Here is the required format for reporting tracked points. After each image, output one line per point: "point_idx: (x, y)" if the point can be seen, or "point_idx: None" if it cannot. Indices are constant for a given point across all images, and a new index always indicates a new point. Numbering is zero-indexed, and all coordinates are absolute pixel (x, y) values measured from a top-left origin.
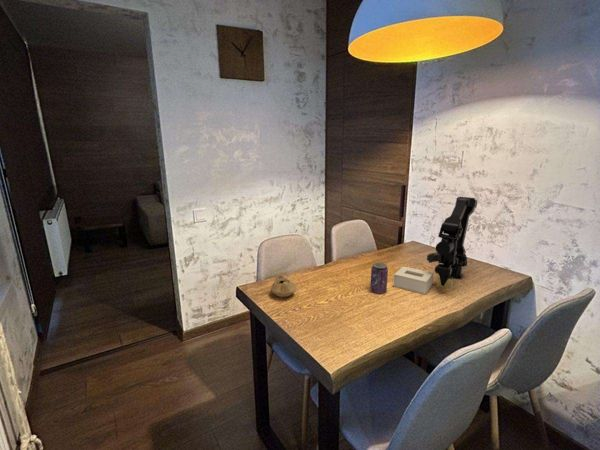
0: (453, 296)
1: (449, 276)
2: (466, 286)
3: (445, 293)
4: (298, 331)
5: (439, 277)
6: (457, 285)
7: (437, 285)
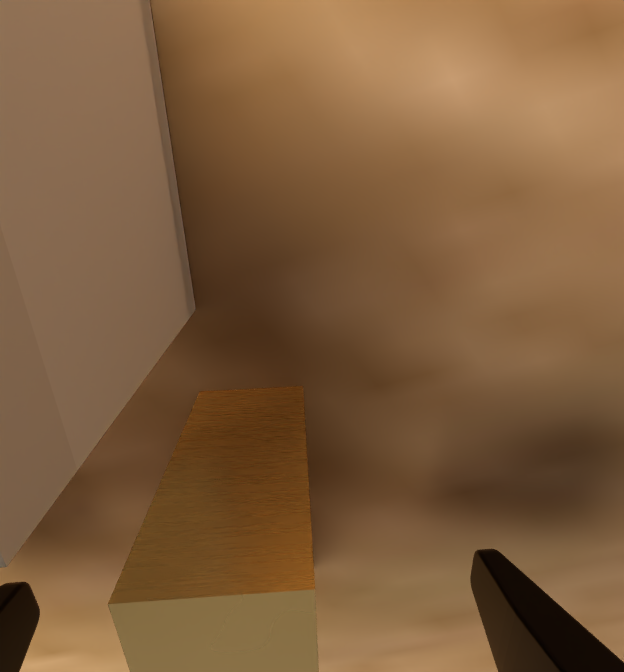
0: None
1: (497, 666)
2: (475, 662)
3: (28, 559)
4: None
5: (128, 616)
6: (449, 593)
7: (196, 413)
